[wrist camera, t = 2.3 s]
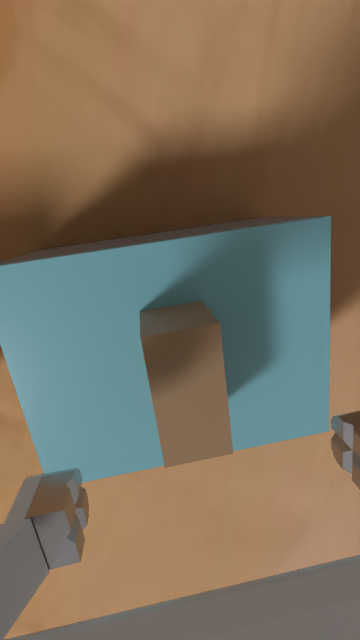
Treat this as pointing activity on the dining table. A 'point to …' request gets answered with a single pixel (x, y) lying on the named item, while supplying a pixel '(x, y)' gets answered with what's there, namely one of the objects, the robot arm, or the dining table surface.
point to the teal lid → (171, 346)
